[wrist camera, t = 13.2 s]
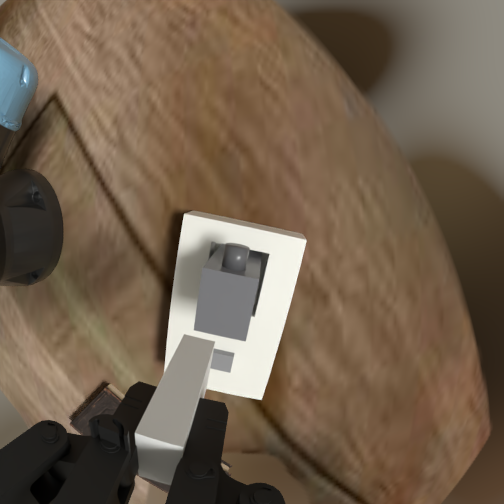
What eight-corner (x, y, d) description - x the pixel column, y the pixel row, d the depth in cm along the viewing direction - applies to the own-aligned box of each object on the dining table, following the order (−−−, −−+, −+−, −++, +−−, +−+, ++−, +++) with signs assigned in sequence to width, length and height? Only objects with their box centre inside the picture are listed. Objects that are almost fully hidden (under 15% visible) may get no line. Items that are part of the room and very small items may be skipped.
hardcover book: (112, 378, 36) (105, 387, 33) (232, 465, 38) (230, 475, 36) (74, 417, 39) (68, 425, 36) (175, 489, 41) (173, 497, 39)
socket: (172, 361, 33) (161, 381, 29) (193, 210, 29) (181, 214, 25) (262, 381, 33) (261, 404, 29) (302, 233, 29) (307, 241, 25)
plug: (213, 290, 31) (193, 330, 22) (224, 227, 29) (206, 245, 20) (252, 298, 31) (245, 341, 22) (265, 235, 29) (264, 257, 20)
